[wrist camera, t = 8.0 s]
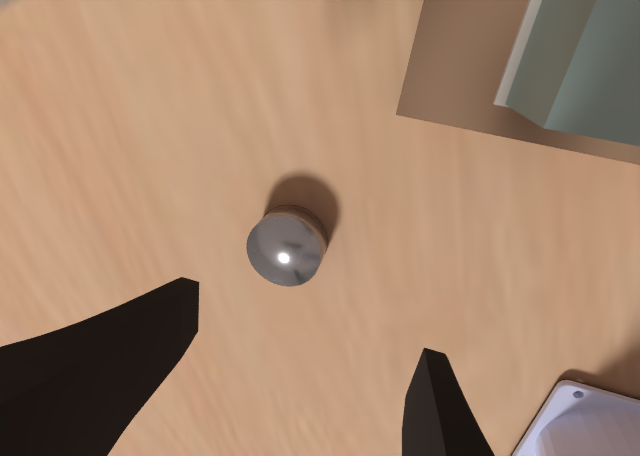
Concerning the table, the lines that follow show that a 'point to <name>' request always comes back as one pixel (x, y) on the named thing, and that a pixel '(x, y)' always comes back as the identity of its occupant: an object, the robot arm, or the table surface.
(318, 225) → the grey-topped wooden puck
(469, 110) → the stand
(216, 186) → the table surface
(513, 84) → the block
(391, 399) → the table surface
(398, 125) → the table surface
